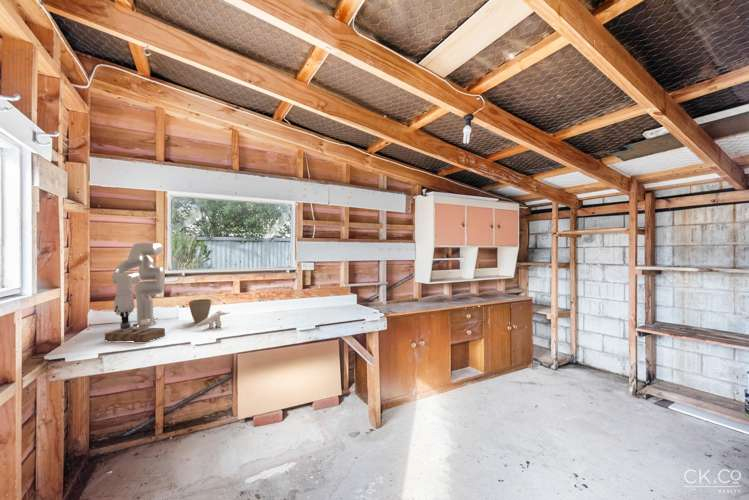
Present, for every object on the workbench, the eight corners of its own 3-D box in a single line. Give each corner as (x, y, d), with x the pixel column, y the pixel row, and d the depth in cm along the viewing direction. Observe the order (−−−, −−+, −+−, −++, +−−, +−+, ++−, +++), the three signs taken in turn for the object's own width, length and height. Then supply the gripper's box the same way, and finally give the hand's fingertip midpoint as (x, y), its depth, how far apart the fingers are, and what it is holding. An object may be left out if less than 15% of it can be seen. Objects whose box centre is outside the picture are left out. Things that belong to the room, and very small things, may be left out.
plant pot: (205, 324, 227) (205, 302, 227) (184, 324, 227) (184, 302, 226) (215, 319, 242) (215, 298, 241) (196, 319, 242) (195, 299, 241)
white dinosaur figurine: (232, 324, 224) (230, 309, 222) (194, 334, 208) (192, 318, 207) (229, 322, 229) (227, 307, 228) (192, 331, 213) (190, 316, 212)
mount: (105, 341, 189) (104, 333, 189) (126, 334, 203) (125, 327, 203) (146, 343, 186) (146, 334, 185) (164, 335, 199) (164, 328, 199)
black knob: (125, 333, 198) (125, 321, 198) (132, 334, 197) (132, 321, 197) (118, 336, 193) (118, 323, 193) (125, 336, 193) (125, 323, 192)
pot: (135, 329, 196) (135, 323, 196) (139, 330, 196) (139, 323, 195) (131, 331, 193) (131, 324, 193) (135, 331, 193) (135, 325, 192)
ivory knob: (145, 331, 196) (145, 318, 196) (152, 331, 195) (151, 318, 195) (138, 333, 191) (138, 320, 191) (145, 333, 191) (145, 320, 190)
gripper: (129, 291, 202) (130, 319, 203) (107, 295, 187) (108, 325, 188) (140, 291, 201) (140, 319, 202) (118, 295, 187) (119, 325, 187)
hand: (125, 322), depth 195 cm, fingers closed
